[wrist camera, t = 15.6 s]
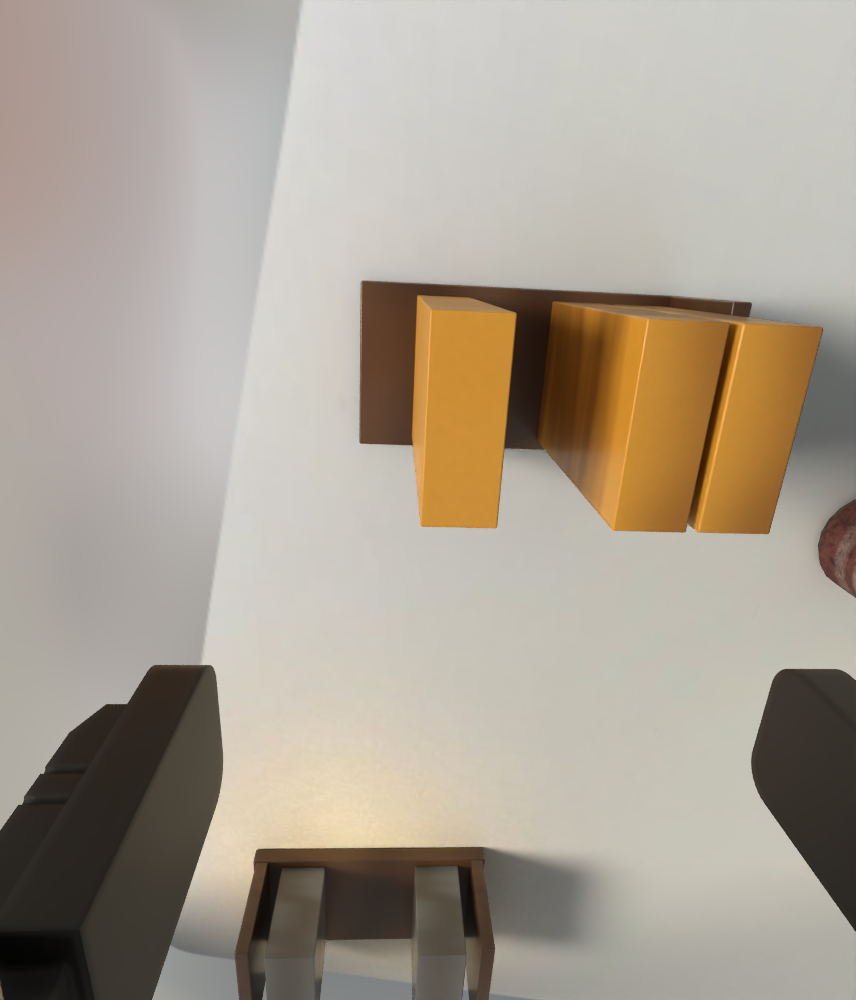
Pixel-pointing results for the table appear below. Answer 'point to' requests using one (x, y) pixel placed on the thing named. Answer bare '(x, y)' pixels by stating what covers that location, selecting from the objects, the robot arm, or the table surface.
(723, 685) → the table surface
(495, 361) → the ochre book
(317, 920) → the brown book rack
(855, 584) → the can
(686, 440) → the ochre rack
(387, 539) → the table surface
